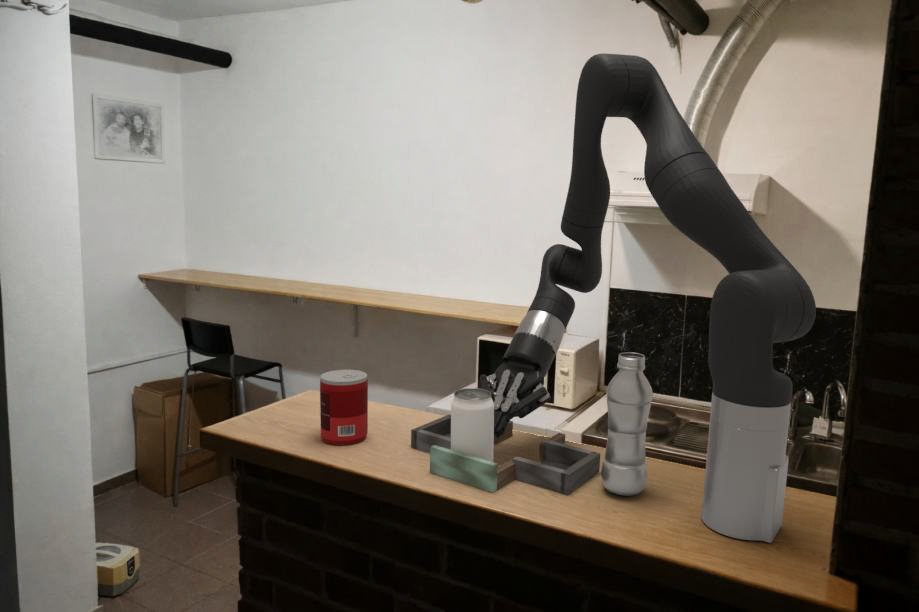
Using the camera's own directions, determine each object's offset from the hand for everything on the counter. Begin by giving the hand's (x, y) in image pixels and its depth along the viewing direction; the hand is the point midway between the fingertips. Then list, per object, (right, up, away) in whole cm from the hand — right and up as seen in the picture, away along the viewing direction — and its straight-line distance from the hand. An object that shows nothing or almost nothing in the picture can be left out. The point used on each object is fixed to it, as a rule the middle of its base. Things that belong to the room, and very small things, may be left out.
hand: (491, 435), depth 108 cm
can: (-3, -5, -1) cm, 6 cm away
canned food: (-25, -3, +11) cm, 27 cm away
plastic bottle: (+18, -7, -8) cm, 21 cm away
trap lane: (+2, -4, +3) cm, 6 cm away
